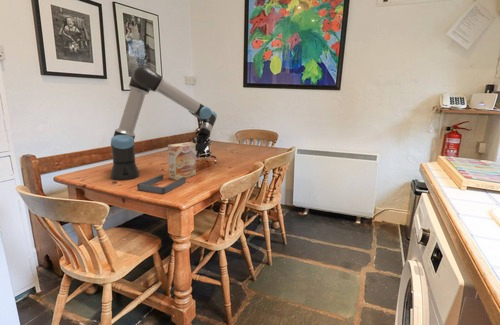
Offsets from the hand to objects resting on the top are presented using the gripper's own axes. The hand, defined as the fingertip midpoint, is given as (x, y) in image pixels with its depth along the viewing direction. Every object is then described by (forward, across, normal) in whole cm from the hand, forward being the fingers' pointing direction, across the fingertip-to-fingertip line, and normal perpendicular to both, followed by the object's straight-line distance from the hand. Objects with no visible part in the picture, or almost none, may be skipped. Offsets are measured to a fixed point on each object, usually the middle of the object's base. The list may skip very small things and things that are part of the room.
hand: (193, 160), depth 178 cm
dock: (+28, 0, +18) cm, 33 cm away
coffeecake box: (+14, 0, +4) cm, 15 cm away
